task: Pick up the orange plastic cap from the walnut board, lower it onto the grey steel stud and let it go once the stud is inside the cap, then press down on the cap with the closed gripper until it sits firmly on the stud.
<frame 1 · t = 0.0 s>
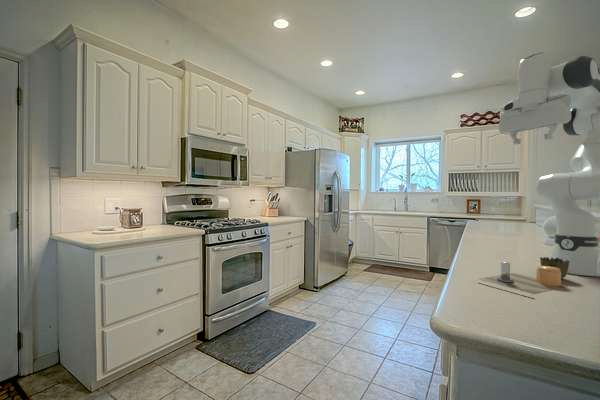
hand: (531, 141, 99), 48 cm above the counter, fingers open, 8 cm apart
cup: (553, 282, 97), on the counter
board: (522, 286, 91), on the counter
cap: (548, 283, 90), point 1 cm above the counter, touching board
stud: (505, 285, 92), resting on board
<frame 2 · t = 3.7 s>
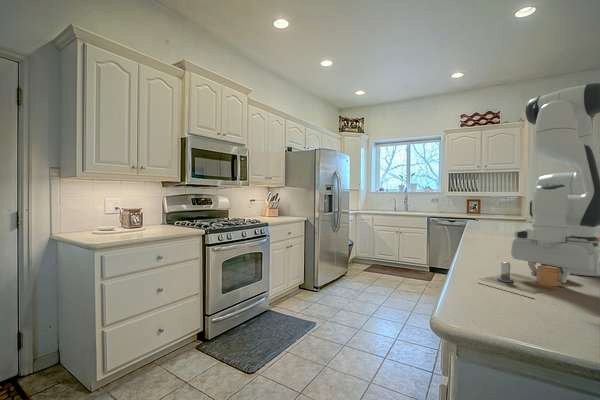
hand: (548, 279, 90), 3 cm above the counter, fingers closed on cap, 5 cm apart
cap: (548, 283, 90), point 1 cm above the counter, touching board, gripper
everything else where it was.
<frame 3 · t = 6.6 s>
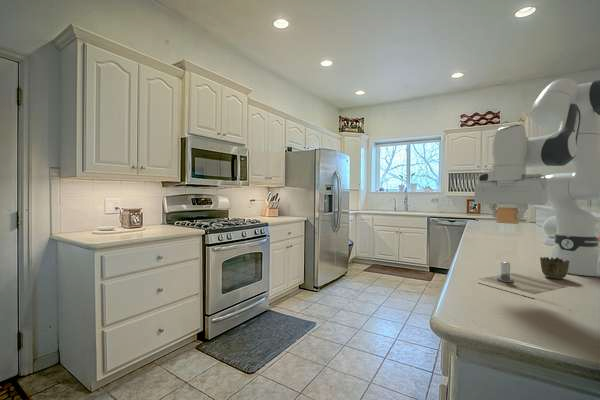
hand: (507, 218, 92), 22 cm above the counter, fingers closed on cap, 5 cm apart
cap: (507, 223, 92), point 20 cm above the counter, touching gripper
everything else where it was.
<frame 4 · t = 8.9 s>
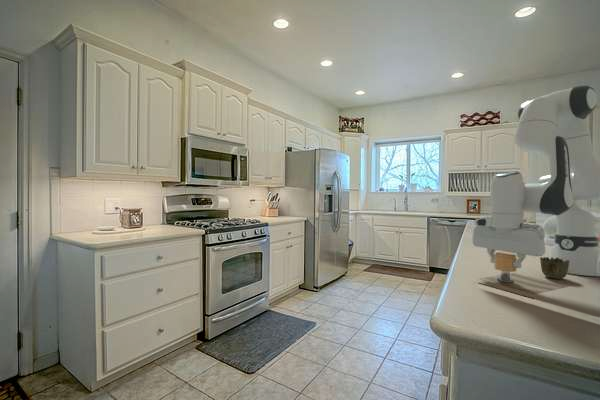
hand: (505, 265, 92), 7 cm above the counter, fingers closed on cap, 5 cm apart
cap: (505, 269, 92), point 5 cm above the counter, touching gripper
everything else where it was.
when the fingers open (6 cm above the counter, at t = 9.4 s): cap drops 1 cm, resting on stud.
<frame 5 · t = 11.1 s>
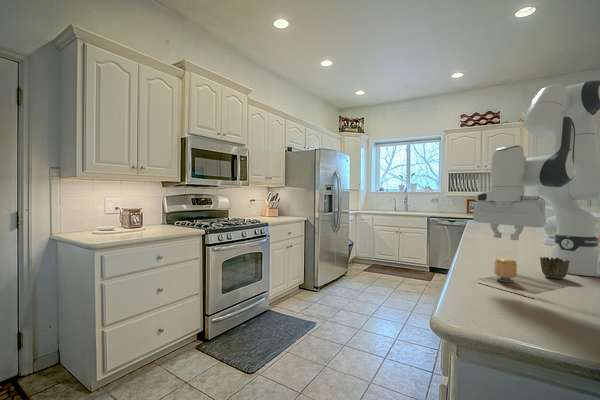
hand: (505, 238, 92), 15 cm above the counter, fingers open, 4 cm apart
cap: (505, 275, 92), point 3 cm above the counter, touching stud
everything else where it was.
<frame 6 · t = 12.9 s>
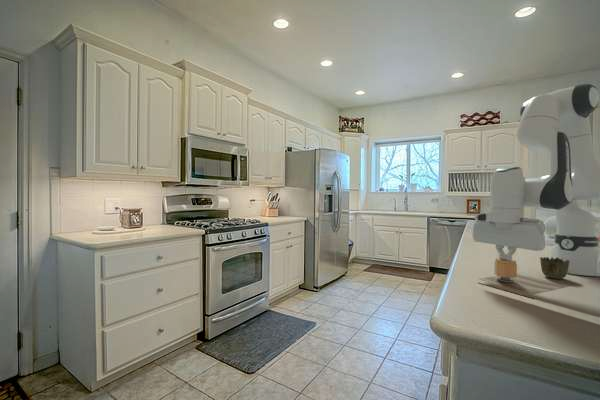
hand: (505, 259, 92), 8 cm above the counter, fingers closed, pressing on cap
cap: (505, 275, 92), point 3 cm above the counter, touching gripper, stud
everything else where it was.
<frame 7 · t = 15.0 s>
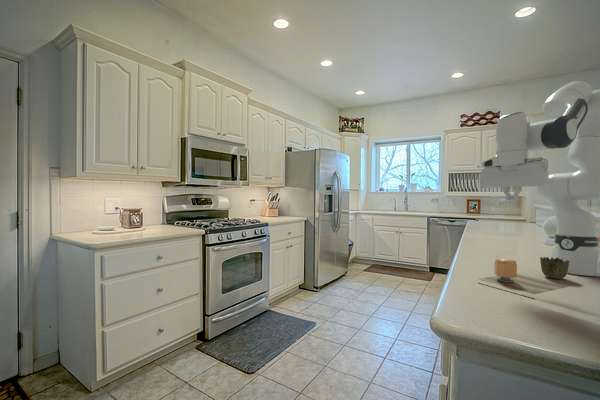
hand: (512, 200, 99), 28 cm above the counter, fingers closed
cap: (505, 275, 92), point 3 cm above the counter, touching stud
everything else where it was.
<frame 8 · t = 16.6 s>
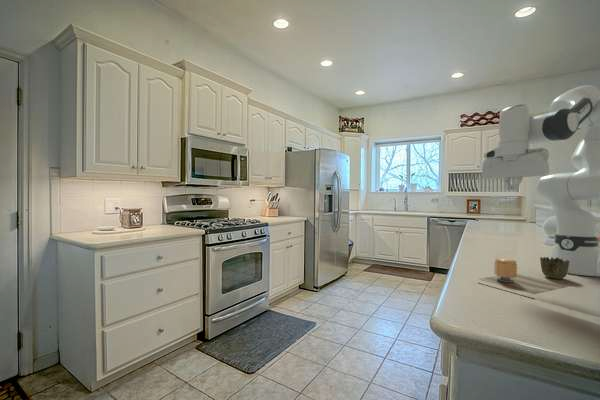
hand: (512, 190, 102), 31 cm above the counter, fingers closed
nothing on the counter moved.
at the end: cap 0.0 cm off-centre on the stud, point 3.3 cm above the stud's base; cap tilted 0°; the gripper is holding nothing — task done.
